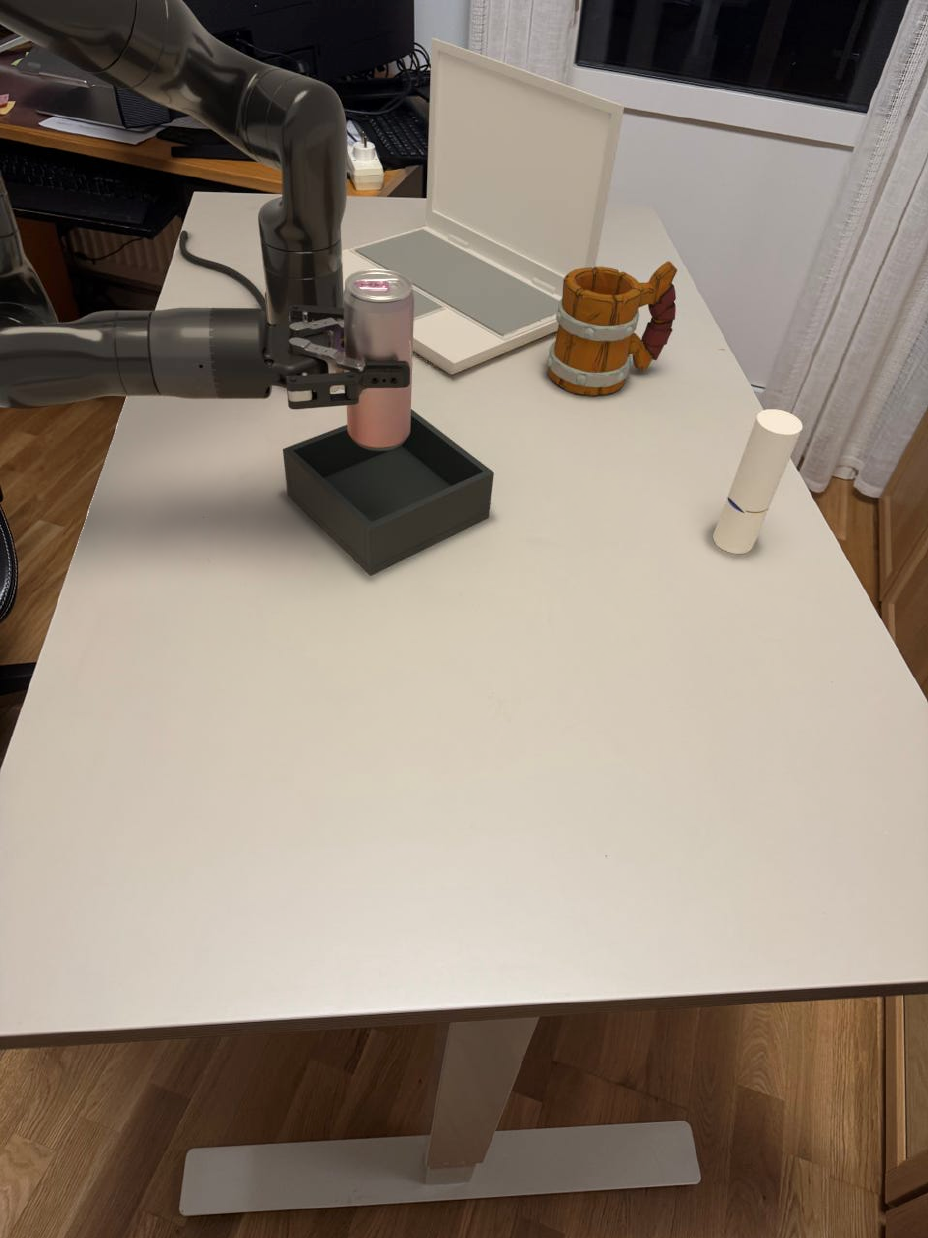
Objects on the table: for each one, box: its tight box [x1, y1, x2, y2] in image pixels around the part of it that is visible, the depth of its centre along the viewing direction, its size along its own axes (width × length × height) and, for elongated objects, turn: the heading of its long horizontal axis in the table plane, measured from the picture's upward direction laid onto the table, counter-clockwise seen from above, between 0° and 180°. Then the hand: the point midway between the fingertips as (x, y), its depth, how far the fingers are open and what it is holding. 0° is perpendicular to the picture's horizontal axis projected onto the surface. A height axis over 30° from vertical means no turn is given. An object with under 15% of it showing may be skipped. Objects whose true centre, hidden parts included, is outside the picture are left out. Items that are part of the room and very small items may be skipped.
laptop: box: [342, 37, 625, 376], centre depth 114 cm, size 35×26×28 cm
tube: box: [712, 408, 803, 555], centre depth 85 cm, size 4×4×15 cm
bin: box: [282, 408, 495, 576], centre depth 89 cm, size 16×16×6 cm
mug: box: [546, 261, 678, 397], centre depth 108 cm, size 11×16×15 cm, turn 102°
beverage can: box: [343, 269, 414, 451], centre depth 75 cm, size 6×6×15 cm
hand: (406, 354), depth 75 cm, fingers closed on beverage can, 6 cm apart
